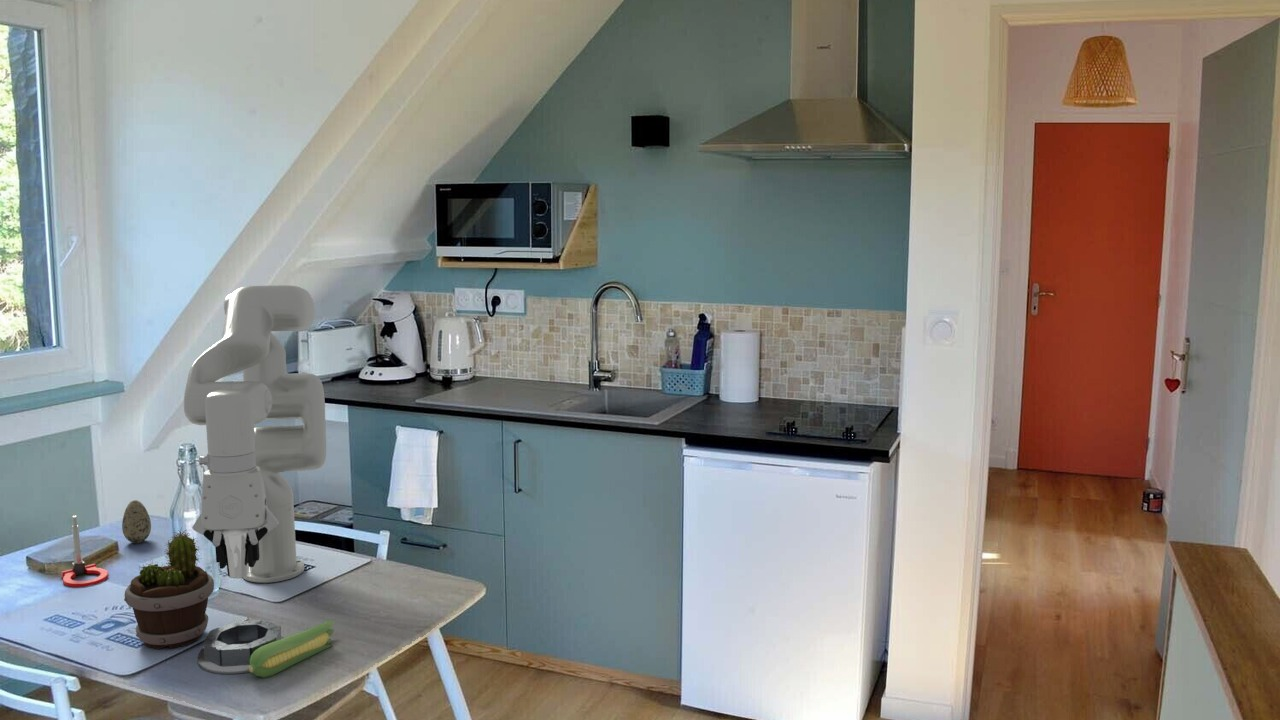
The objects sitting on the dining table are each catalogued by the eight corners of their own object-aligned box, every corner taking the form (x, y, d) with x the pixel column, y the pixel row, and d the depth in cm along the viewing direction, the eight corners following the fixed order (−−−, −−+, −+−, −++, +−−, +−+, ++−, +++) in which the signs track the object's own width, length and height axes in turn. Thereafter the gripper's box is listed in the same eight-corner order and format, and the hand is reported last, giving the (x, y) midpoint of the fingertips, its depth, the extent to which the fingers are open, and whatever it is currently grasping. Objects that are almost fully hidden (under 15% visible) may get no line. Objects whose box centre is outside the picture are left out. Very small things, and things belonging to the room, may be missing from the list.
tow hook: (114, 581, 219) (99, 568, 226) (110, 523, 217) (94, 510, 223) (70, 592, 214) (56, 578, 220) (66, 532, 211) (51, 520, 217)
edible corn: (237, 654, 176) (254, 652, 174) (329, 616, 193) (346, 614, 191) (244, 684, 176) (261, 683, 174) (335, 643, 193) (352, 642, 191)
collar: (209, 639, 191) (208, 619, 190) (295, 634, 193) (294, 614, 193) (187, 677, 177) (186, 655, 176) (281, 671, 179) (279, 650, 178)
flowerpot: (166, 663, 182) (158, 552, 178) (110, 644, 189) (101, 537, 186) (235, 632, 194) (229, 528, 191) (180, 615, 202) (173, 515, 198)
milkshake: (261, 572, 183) (259, 517, 182) (235, 581, 179) (232, 524, 177) (245, 567, 186) (242, 512, 184) (218, 576, 181) (215, 520, 180)
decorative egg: (157, 538, 244) (154, 497, 243) (142, 547, 238) (139, 504, 237) (133, 537, 245) (130, 496, 243) (117, 546, 239) (114, 503, 237)
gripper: (174, 469, 174) (181, 575, 177) (279, 466, 177) (285, 570, 180) (186, 458, 181) (192, 560, 184) (287, 455, 184) (292, 555, 187)
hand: (238, 564), depth 182 cm, fingers closed on milkshake, 4 cm apart
